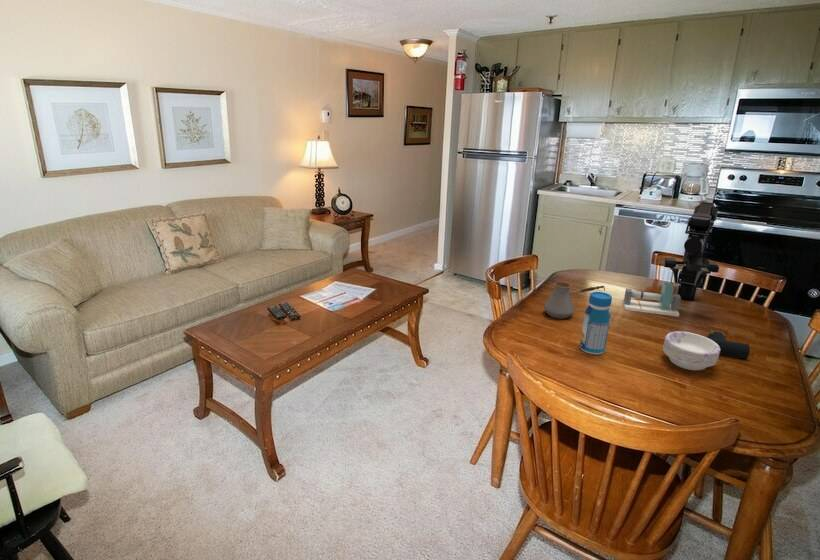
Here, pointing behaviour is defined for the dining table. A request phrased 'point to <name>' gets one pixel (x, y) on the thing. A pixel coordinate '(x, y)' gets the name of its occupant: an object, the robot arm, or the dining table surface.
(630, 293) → the pipe rig
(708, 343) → the paper bowls
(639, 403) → the dining table surface
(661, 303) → the sleeve collar
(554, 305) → the coffee pot
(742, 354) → the pipe connector
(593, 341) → the beverage bottle
